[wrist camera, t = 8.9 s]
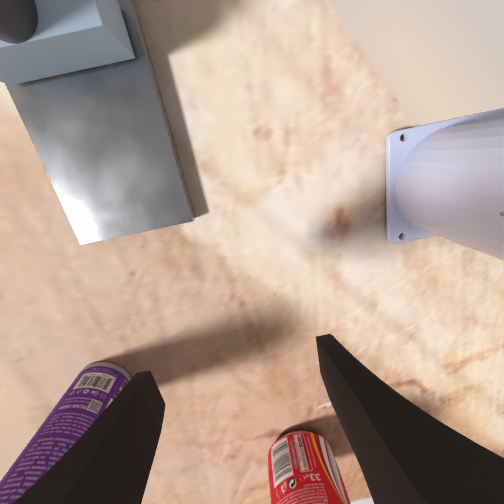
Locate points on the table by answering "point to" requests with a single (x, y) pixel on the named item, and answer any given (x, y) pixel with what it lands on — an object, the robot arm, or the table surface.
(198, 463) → the table surface
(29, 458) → the container
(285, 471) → the soda can
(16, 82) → the sliding jaw
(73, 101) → the base
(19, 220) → the table surface
